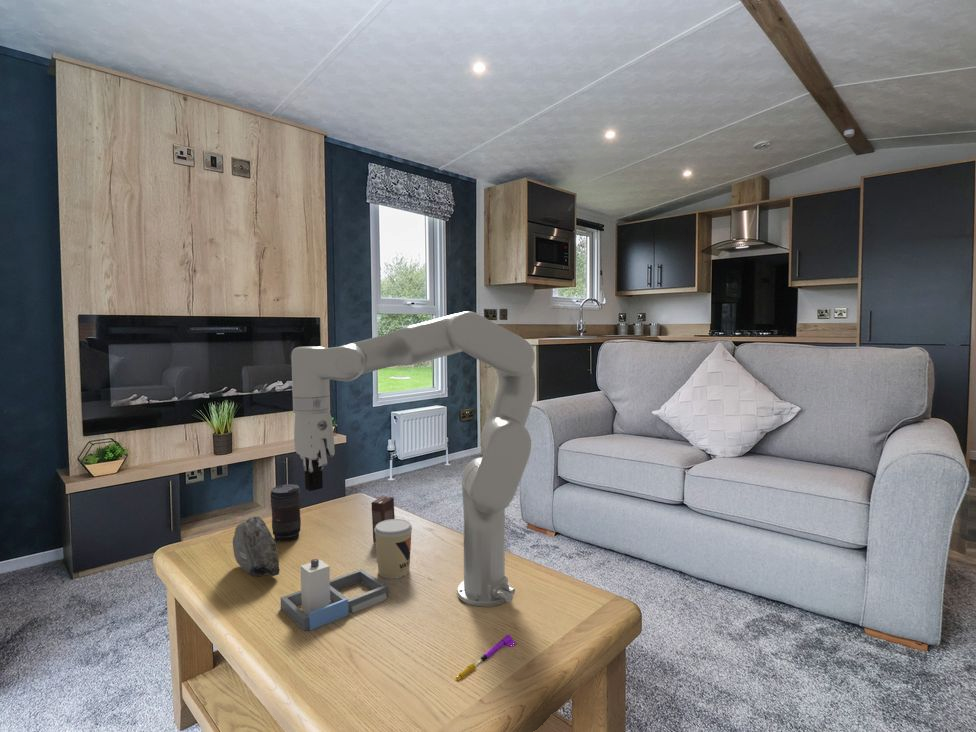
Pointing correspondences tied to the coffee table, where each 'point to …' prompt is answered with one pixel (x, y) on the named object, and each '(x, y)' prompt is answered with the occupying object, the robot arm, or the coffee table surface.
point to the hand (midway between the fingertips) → (314, 488)
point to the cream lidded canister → (393, 547)
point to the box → (382, 511)
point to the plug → (315, 585)
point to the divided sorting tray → (336, 601)
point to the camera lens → (285, 512)
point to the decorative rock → (255, 548)
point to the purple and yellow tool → (487, 655)
